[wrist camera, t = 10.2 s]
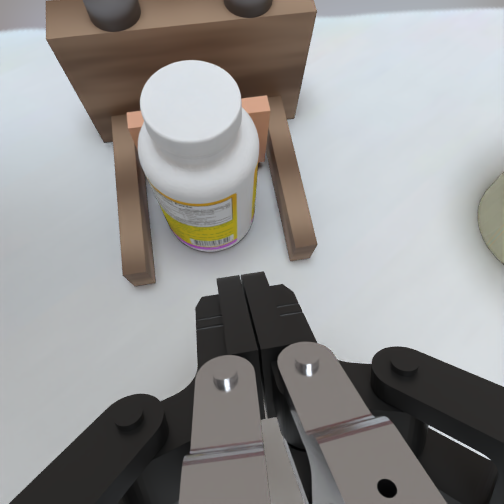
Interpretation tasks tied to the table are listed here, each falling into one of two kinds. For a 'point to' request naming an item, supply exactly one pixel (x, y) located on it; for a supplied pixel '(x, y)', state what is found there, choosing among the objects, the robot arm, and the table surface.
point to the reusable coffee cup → (493, 218)
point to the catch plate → (253, 106)
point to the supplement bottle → (199, 153)
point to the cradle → (174, 50)
